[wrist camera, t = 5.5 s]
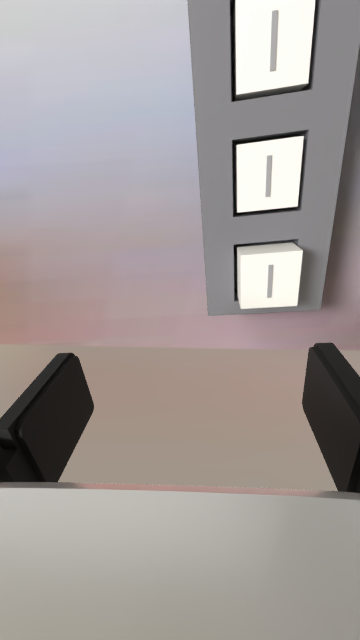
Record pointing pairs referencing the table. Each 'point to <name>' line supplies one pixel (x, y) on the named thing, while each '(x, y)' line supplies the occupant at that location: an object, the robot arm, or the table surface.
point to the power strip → (263, 125)
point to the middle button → (267, 174)
